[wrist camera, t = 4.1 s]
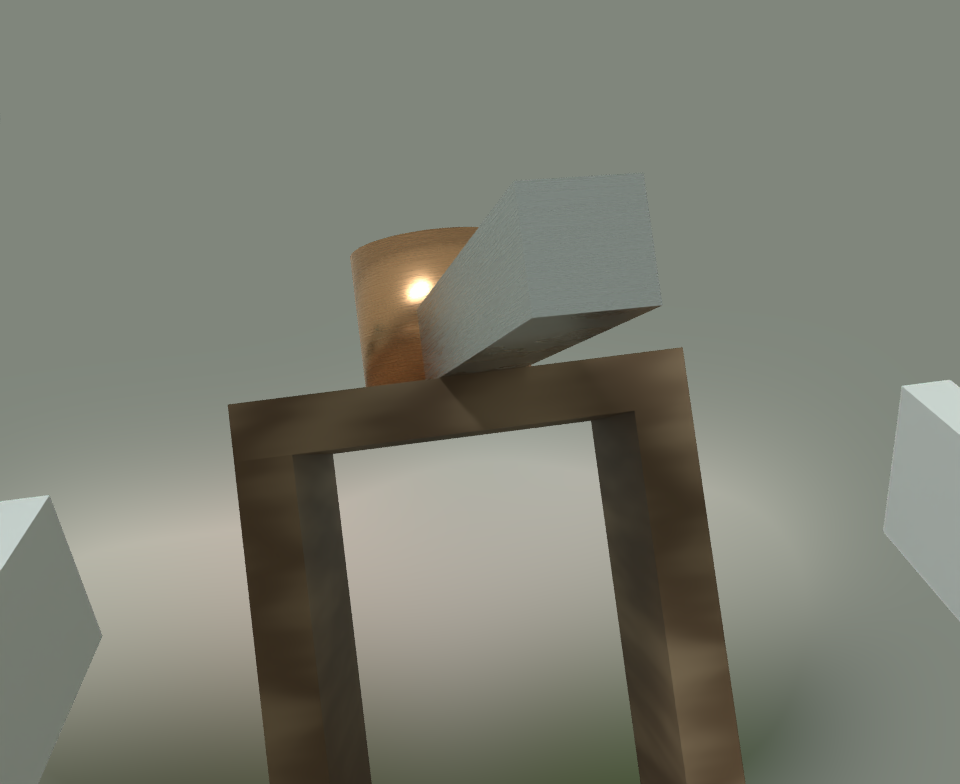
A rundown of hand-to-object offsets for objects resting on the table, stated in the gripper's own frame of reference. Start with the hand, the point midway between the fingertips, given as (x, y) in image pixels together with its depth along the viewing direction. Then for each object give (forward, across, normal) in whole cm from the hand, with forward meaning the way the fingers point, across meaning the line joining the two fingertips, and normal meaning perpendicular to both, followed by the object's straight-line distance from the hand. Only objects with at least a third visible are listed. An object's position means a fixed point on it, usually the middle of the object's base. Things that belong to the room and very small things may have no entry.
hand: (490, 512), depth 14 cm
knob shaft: (+16, +1, -5) cm, 16 cm away
